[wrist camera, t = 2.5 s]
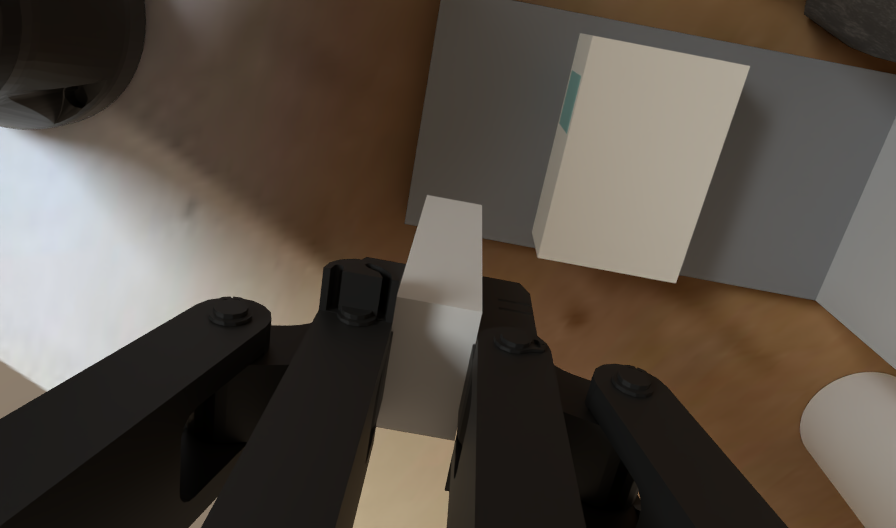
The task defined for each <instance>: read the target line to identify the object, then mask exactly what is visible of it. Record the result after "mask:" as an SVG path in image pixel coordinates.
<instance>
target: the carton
mask: <svg viewBox="0 0 896 528" xmlns="http://www.w3.org/2000/svg"><path fill="white" fill-rule="evenodd" d="M749 69H750V66H747V65H742V64H737V63H732V62H727V61H722V60H717V59H712V58H706V57H701V56H696V55H691V54H686V53H681V52H675V51H670V50H665V49H660V48H655V47H650V46H644V45H639V44H634V43H629V42H624V41H619V40H613V39H608V38H603V37H598V36H593V35H588V34H582V33H580V35H579V39H578V43H577V47H576V52H575V56H574V60H573V64H572V68H571V72H570V76H569V81H568V85H567V89H566V93H565V97H564V101H563V105H562V109H561V114H560V118H559V122H558V126H557V130H556V134H555V138H554V143H553V147H552V151H551V155H550V159H549V163H548V167H547V171H546V176H545V180H544V184H543V188H542V192H541V196H540V200H539V205H538V209H537V213H536V217H535V221H534V225H533V229H532V235H533V240H534V244H535V248H536V253H537V257H538V258H542V259H547V260H553V261H558V262H564V263H569V264H574V265H580V266H585V267H590V268H596V269H601V270H606V271H612V272H617V273H623V274H628V275H633V276H639V277H644V278H649V279H655V280H660V281H666V282H671V283H676V282H677V279H678V276H679V273H680V270H681V267H682V264H683V261H684V258H685V255H686V252H687V249H688V247H689V244H690V241H691V238H692V235H693V232H694V229H695V226H696V223H697V220H698V217H699V214H700V212H701V209H702V206H703V203H704V200H705V197H706V194H707V191H708V188H709V185H710V182H711V179H712V177H713V174H714V171H715V168H716V165H717V162H718V159H719V156H720V153H721V150H722V147H723V144H724V141H725V139H726V136H727V133H728V130H729V127H730V124H731V121H732V118H733V115H734V112H735V109H736V106H737V104H738V101H739V98H740V95H741V92H742V89H743V86H744V83H745V80H746V77H747V74H748V71H749Z"/></svg>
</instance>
